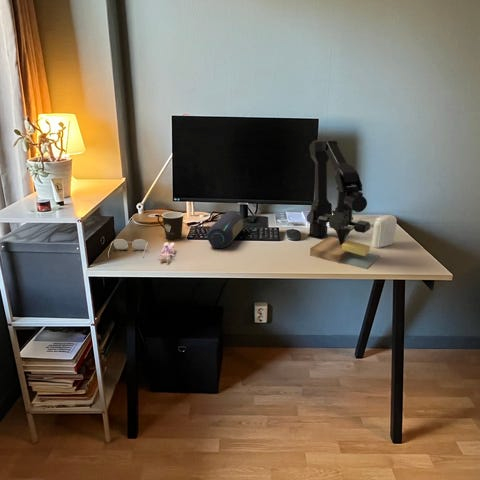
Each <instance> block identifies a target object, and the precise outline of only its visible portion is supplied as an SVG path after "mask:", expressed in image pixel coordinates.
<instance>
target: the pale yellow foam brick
mask: <svg viewBox="0 0 480 480" xmlns="http://www.w3.org/2000/svg"><path fill="white" fill-rule="evenodd" d="M341 250H345V251H348V252H352V253H355V254H359V255H362V256H366V254H367V253H369V252H370V250H371V245H368V244H365V243H361V242H356V241H354V240H350V239H346V241H345V242H344V243H343V244H342V248H341Z"/></svg>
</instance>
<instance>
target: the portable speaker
mask: <svg viewBox="0 0 480 480" xmlns="http://www.w3.org/2000/svg"><path fill="white" fill-rule="evenodd" d="M244 227H245V219H244V217H243V214H241V213H240V212H239V211H237V210H229V211H227V212H225V213H224V214H222V216H221V217H220V218H218V219H217V220H216V221H215V222H214V223H213V224H212V225H211V226H210V227H209V229H208V231H207V234H206V235H207V237H206V238H207V241H208V242H209V244H210V245H211V246H212V247H214V248H219V249H221V248H225V247H226V248H227V246H229V245H230V244H231V243H232V242H233V241H234V239H236V237H237V236H238V234H239V233H240V232H241V231H242V230H243V229H244Z"/></svg>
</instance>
